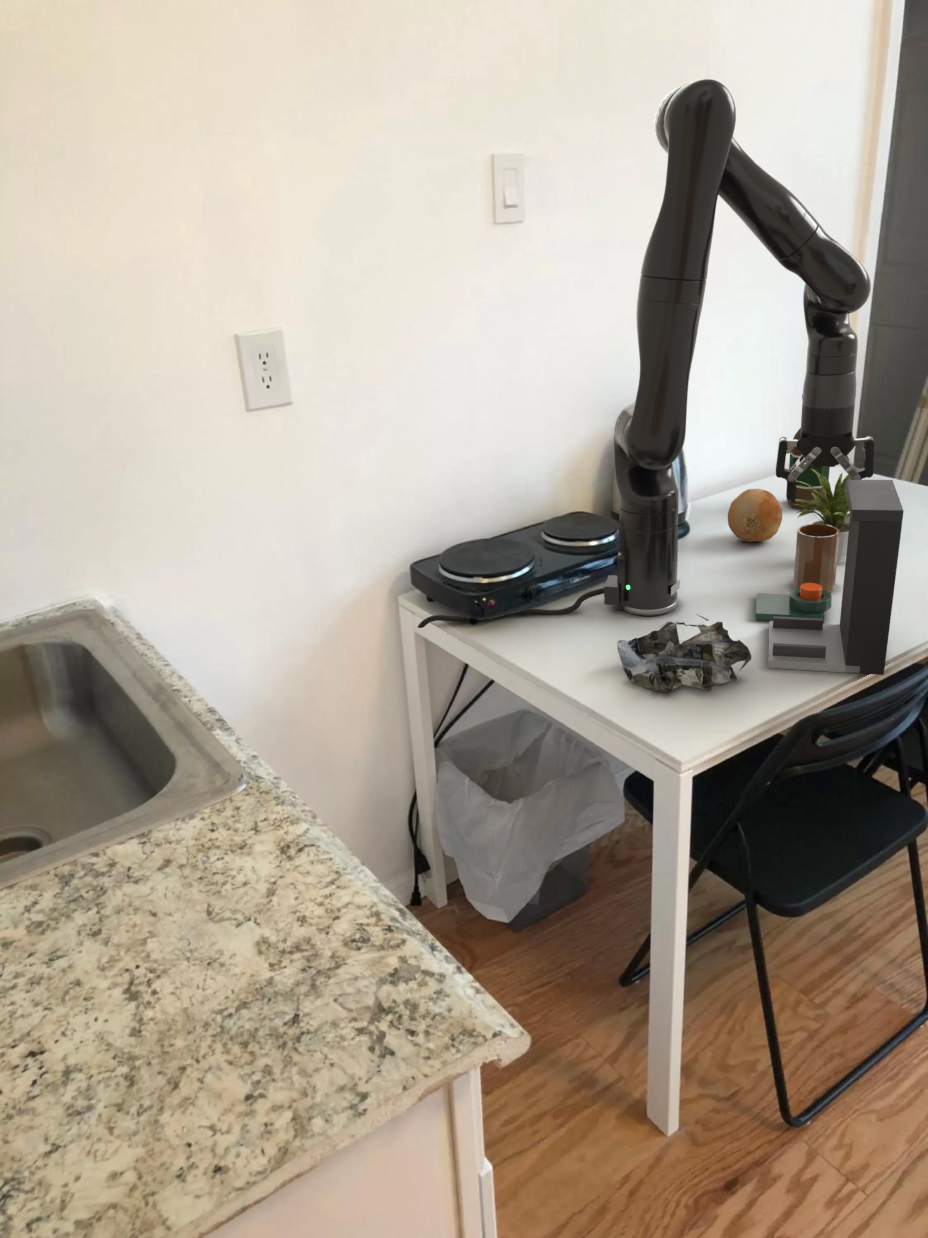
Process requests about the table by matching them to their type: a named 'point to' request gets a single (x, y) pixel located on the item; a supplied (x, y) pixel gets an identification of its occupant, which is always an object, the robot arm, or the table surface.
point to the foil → (682, 658)
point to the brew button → (810, 591)
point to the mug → (816, 555)
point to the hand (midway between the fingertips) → (821, 502)
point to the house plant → (831, 510)
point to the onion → (755, 515)
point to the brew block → (791, 605)
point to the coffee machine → (851, 593)
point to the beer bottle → (807, 479)
